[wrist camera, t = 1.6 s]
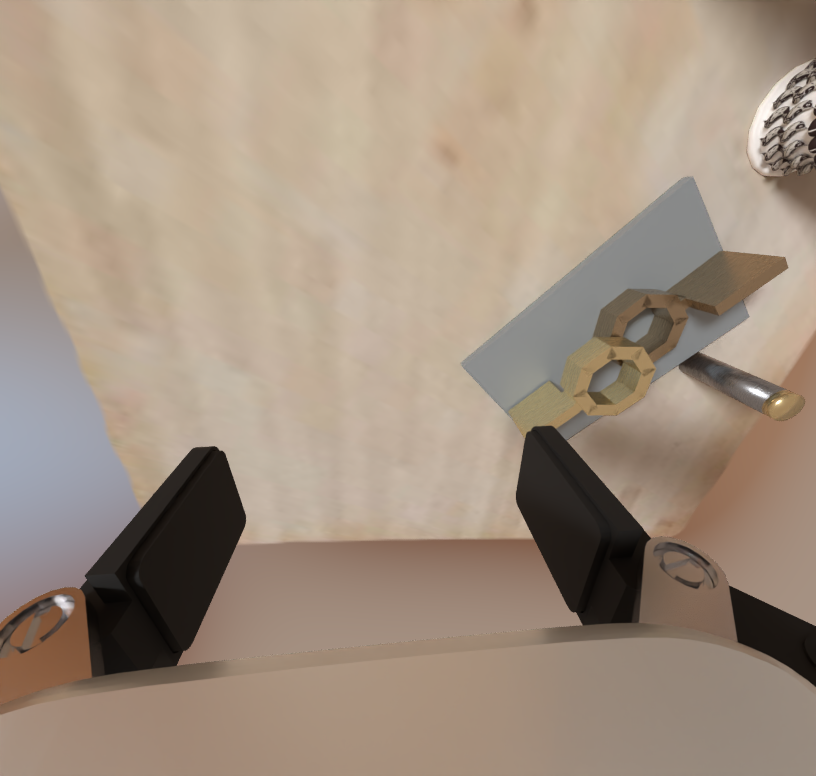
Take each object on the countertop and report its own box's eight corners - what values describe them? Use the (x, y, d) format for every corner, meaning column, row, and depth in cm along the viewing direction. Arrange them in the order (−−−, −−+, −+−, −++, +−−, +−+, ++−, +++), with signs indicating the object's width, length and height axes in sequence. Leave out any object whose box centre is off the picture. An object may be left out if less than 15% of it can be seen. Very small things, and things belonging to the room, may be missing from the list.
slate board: (682, 177, 31) (693, 176, 30) (739, 314, 38) (749, 316, 36) (460, 363, 38) (462, 367, 37) (541, 448, 45) (545, 454, 44)
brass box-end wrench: (597, 314, 35) (633, 330, 30) (627, 360, 38) (665, 383, 33) (492, 395, 39) (508, 421, 34) (527, 432, 42) (546, 461, 37)
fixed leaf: (709, 224, 32) (775, 226, 26) (733, 283, 35) (796, 295, 29) (582, 323, 36) (617, 342, 30) (613, 368, 38) (650, 393, 33)
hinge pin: (697, 346, 39) (801, 389, 29) (705, 362, 40) (807, 408, 31) (675, 361, 40) (769, 408, 30) (683, 376, 41) (776, 426, 31)
